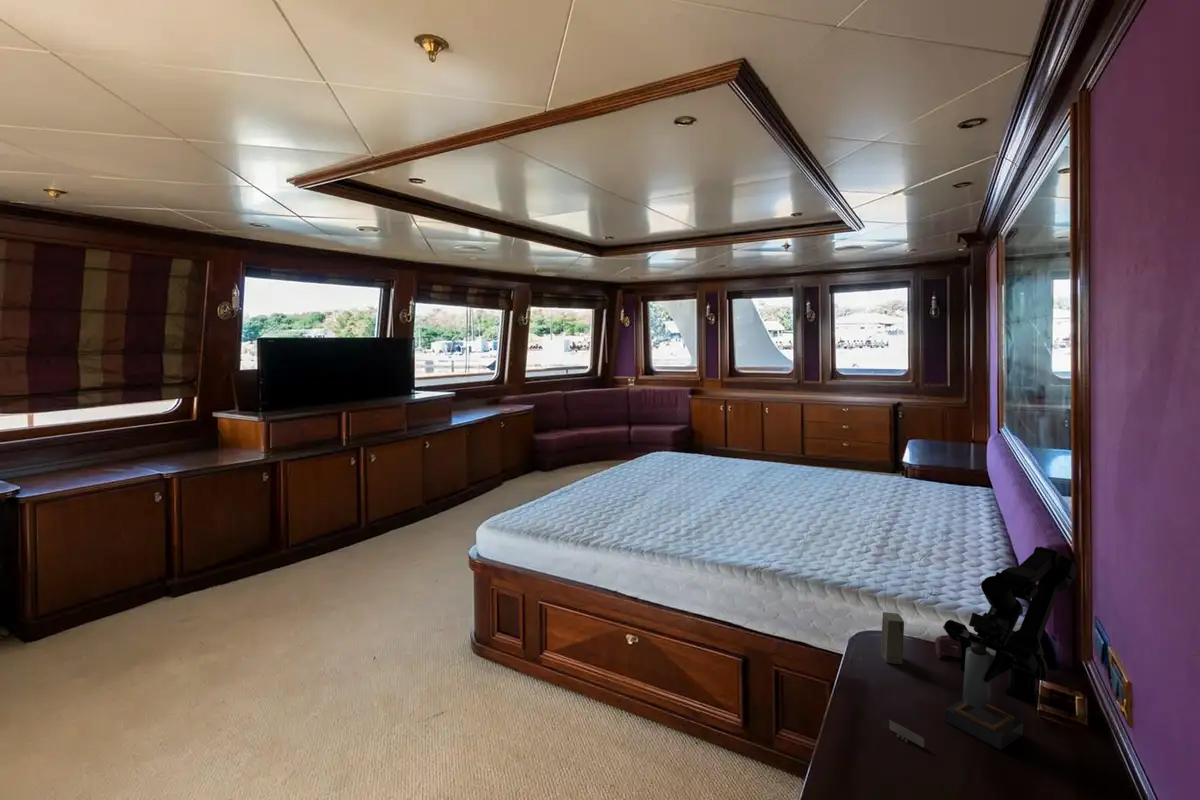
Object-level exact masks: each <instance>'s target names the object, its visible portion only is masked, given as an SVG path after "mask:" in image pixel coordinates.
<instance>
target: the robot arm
mask: <svg viewBox="0 0 1200 800" xmlns="http://www.w3.org/2000/svg"><path fill="white" fill-rule="evenodd" d="M1077 574H1078V567H1077V565H1076V564H1075V562H1074V560H1073V561H1072V560H1071V559H1069V558H1067V557H1066V556H1064V555H1063V554H1062V553H1061V552H1060V551H1058V550H1057V549H1051V548H1047V547H1044V546H1035V548H1034V550H1033V553H1032V554H1030V555H1029V556H1028V557H1027V558H1026V559H1025V560H1024V561H1022V562H1021V563H1020V565H1018V566H1009V567H1007V568H1005V569H1003V570H1002V571H1001V572H1000V571H996V573H995V575H990V576H988V577H986V578H984V579H983V580H982V581H981V583H980V585H981V587H980V588H981V590H982V591H981V592H983V595H984V597H985V599H986V601H987V602H988V604H989V605H990V608H989V610H988V612H984V613H983V614H982V615H981V614H978V613H975V612H972V613H971V617H970V618H969V619H970V620H969V623H968V626H969V627H972V628H973V630H974V632H975V633H973V632H970V630H969V629H968V627H966V625H965V624H963V623H961V622H958V621H956V620H953V619H949V620H946V621H945V622H944V625H943V626H942V628H943V629H944V631H945V632H946V635H949V637H950V638H951V639H953V640H955V641H957V642H959V643H960V644H961V658H960V671H961V672H962V673H964V671H965V657H966V648H968V647H971V643H980V644H983V645H985V646H986V649H989V650H992V651H995V655H994V659H993V660H992V662H991V663H990V668H989V669H988V671H987V673H986V675H985V678H984V681H985V682H986V683H987V682H989V683H990V681H992V680H993V679H995V678H997V677H998V676H1000V674H1003V673H1006V672H1007V671H1009V677H1008V678H1009V679H1008V683H1007V685H1006V687H1005V690H1004V694H1007V695H1010V696H1012V697H1016V698H1019V699H1022V700H1025V701H1027V702H1031V703H1033V704H1034V703H1035V704H1036V703H1037V700H1038V697H1039V695H1040V691H1039V690H1038V689H1037V683H1038V680H1041V679H1043V680H1046V679H1047V678H1048V677H1047V674H1048V670H1049V669H1048V663H1047V661H1046V659H1045V657H1044V655H1045V653H1044V649H1043V646H1042V643H1041V640H1042V637H1043V634H1044V631H1045V629H1046V626H1047V624H1048V621H1049V619H1050V616H1051V614H1052V611H1053V608H1054V605H1055V603H1056V600H1057V597H1058V595H1059V593H1060V592H1062V591H1065V590H1066V589H1069V588H1070V586H1071V584H1072V582H1073V580H1075V579H1076V578H1077ZM1019 599H1021V600H1023V601H1027V602H1028V601H1030V602H1029V605H1028V608H1027V610H1026V613H1025V614H1024V610H1023V609H1024V607H1023V605H1022V603H1021V602H1020V601H1019ZM1023 614H1024V617H1023V620H1022V623H1021V625H1020V627H1019V629H1017V630H1014V628H1015V627H1016V625H1017V623H1018V620H1019V618H1020V616H1022V615H1023Z"/></svg>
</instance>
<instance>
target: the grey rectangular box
mask: <svg viewBox="0 0 1200 800" xmlns="http://www.w3.org/2000/svg"><path fill="white" fill-rule="evenodd" d="M944 722H946V723H948V724H950V725H952V726H953V727H955V728H957V729H959V730H961V731H962V732H965V733H967V734H969V735H971V736H973V737H974V738H976V739H978V740H980V741H982V742H984V743H986V744H988V745H989V746H992V747H994V748H996V749H998V750H1000V751H1002V750H1003V749H1005V748H1006V747H1007V746H1009V745H1010V744H1012V743H1013V742H1014V741H1017V740H1018V739H1019V738H1021V737H1022V736H1023V731H1024V722H1023V721H1021V720H1018V719H1016V718H1015V716H1014V715H1012V714H1010V713H1007V712H1006V711H1003V710H1001V709H999V708H997V707H995V706H993V705H990V704H988V703H987V706H986V707H985V708H977V707H973V706H970V705H968V704H967V703H965V702H964V701H963V699H962V700H960V701H958V702H956V703H954V704H952V705H951V706H949V707H947V708H945V717H944Z"/></svg>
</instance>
